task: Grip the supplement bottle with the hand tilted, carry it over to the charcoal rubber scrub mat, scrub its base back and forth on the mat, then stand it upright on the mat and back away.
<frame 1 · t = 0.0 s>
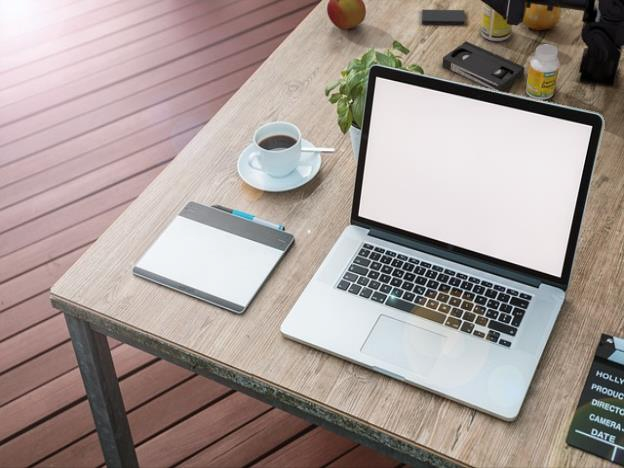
fruit: (538, 25, 179), on the table
vhs tape: (481, 71, 168), on the table
pill bottle: (495, 35, 177), on the table
scrub mat: (443, 18, 182), on the table
supplement bottle: (539, 93, 162), on the table
apple: (346, 27, 181), on the table
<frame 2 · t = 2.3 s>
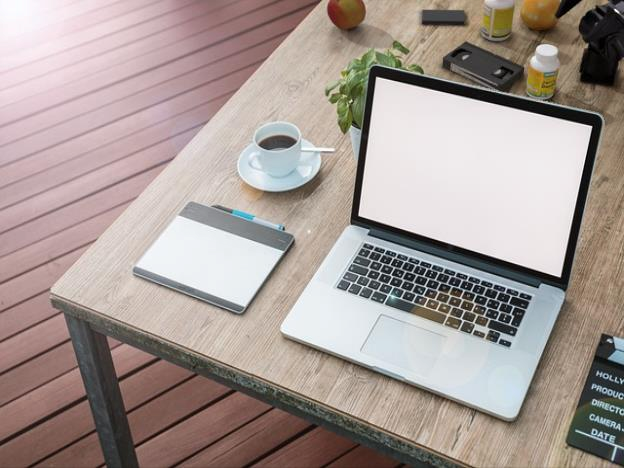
hand: (570, 29, 154), 13 cm above the table, tool tilted 45°, fingers open, 9 cm apart
nothing on the table moved.
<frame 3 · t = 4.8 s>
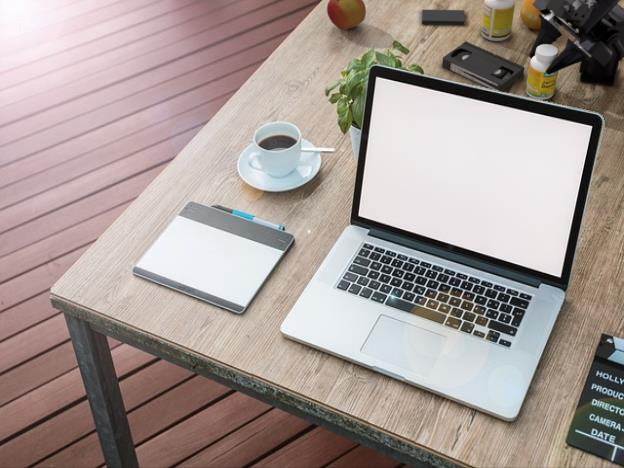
hand: (538, 65, 157), 7 cm above the table, tool tilted 45°, fingers closed on supplement bottle, 5 cm apart
supplement bottle: (539, 93, 162), on the table, touching gripper
everything else where it was.
when the fingers open (7 cm above the table, at t = 14.5 s): supplement bottle stays where it is, resting on scrub mat.
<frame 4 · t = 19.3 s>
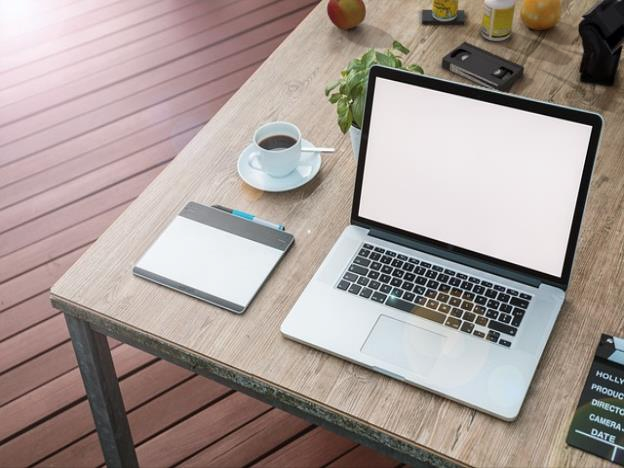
supplement bottle: (444, 16, 182), point 1 cm above the table, touching scrub mat
everything else where it was.
at the end: supplement bottle 0.3 cm off-centre on the scrub mat, point 0.6 cm above the scrub mat's base; supplement bottle tilted 0°; the gripper is holding nothing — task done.
